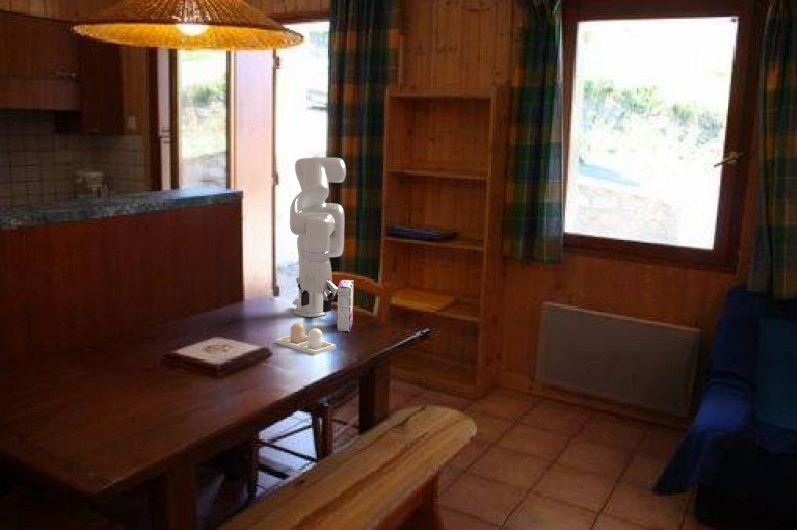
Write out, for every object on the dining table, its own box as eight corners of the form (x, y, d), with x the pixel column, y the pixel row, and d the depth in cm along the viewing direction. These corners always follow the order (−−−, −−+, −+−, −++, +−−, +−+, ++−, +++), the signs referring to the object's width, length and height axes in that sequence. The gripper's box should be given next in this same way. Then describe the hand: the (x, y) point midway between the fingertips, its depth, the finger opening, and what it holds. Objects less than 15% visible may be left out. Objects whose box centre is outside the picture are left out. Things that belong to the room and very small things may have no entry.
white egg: (304, 349, 231) (305, 328, 230) (314, 346, 235) (315, 325, 233) (314, 352, 228) (315, 331, 227) (325, 349, 232) (325, 328, 230)
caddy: (276, 345, 235) (276, 339, 235) (297, 339, 243) (297, 333, 243) (314, 357, 225) (315, 351, 225) (335, 350, 232) (335, 344, 232)
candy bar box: (339, 323, 264) (340, 279, 261) (352, 323, 264) (354, 280, 261) (335, 331, 253) (337, 286, 250) (350, 332, 253) (351, 287, 250)
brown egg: (289, 345, 234) (290, 325, 233) (290, 341, 239) (291, 321, 237) (304, 345, 234) (304, 325, 233) (304, 341, 239) (305, 321, 238)
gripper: (289, 253, 228) (288, 304, 232) (329, 262, 217) (327, 316, 221) (306, 249, 234) (305, 300, 237) (345, 259, 223) (344, 311, 227)
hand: (315, 308), depth 229 cm, fingers open, 9 cm apart
